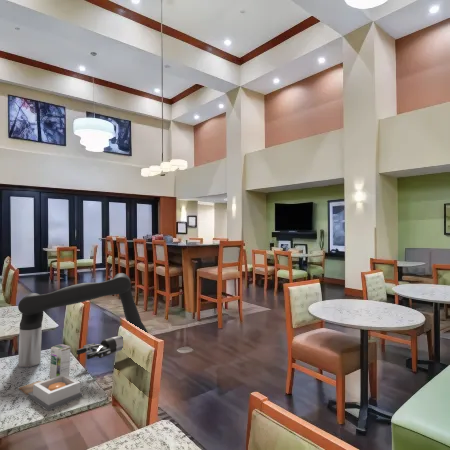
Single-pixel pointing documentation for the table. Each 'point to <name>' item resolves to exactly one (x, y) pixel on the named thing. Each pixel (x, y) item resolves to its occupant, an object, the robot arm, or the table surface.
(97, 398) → the table surface
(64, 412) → the table surface
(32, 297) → the robot arm
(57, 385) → the button
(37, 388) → the panel
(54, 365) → the syrup box
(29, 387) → the rest mat
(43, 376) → the table surface
